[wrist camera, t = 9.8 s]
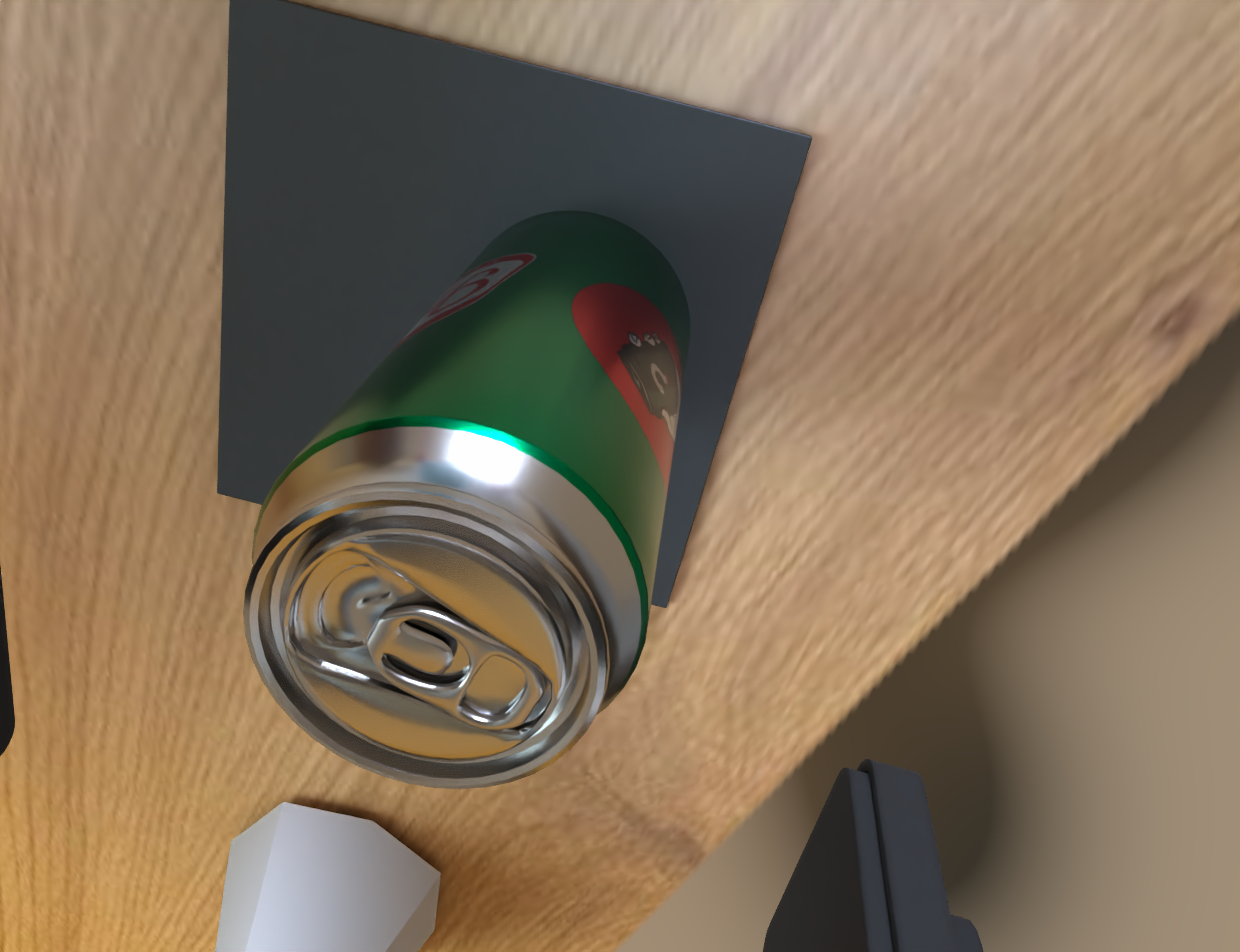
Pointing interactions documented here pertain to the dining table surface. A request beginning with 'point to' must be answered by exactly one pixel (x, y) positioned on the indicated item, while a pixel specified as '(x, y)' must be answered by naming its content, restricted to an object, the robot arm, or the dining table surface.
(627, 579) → the soda can
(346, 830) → the flask
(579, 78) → the mat
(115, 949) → the dining table surface
